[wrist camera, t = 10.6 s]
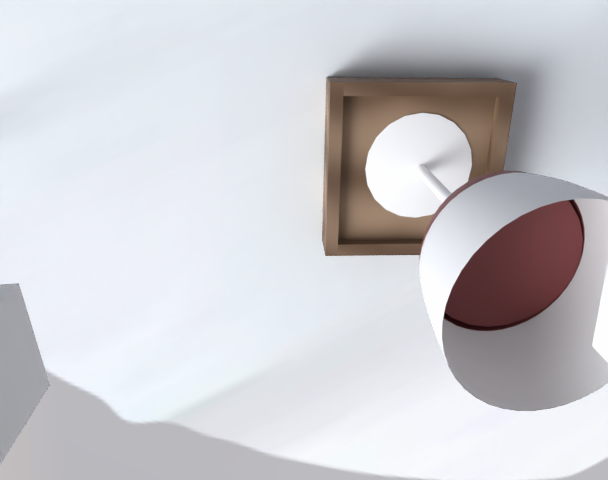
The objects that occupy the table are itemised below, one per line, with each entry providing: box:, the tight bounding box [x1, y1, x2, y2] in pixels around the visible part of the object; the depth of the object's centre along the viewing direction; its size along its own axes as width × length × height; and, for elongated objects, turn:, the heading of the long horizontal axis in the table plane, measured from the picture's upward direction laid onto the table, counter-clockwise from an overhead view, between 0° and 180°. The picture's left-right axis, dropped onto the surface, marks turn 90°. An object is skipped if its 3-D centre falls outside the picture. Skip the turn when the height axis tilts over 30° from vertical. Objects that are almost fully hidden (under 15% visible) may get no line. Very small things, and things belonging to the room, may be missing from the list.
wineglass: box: [365, 113, 608, 411], centre depth 32 cm, size 9×10×23 cm
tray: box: [322, 77, 517, 256], centre depth 44 cm, size 14×14×4 cm
